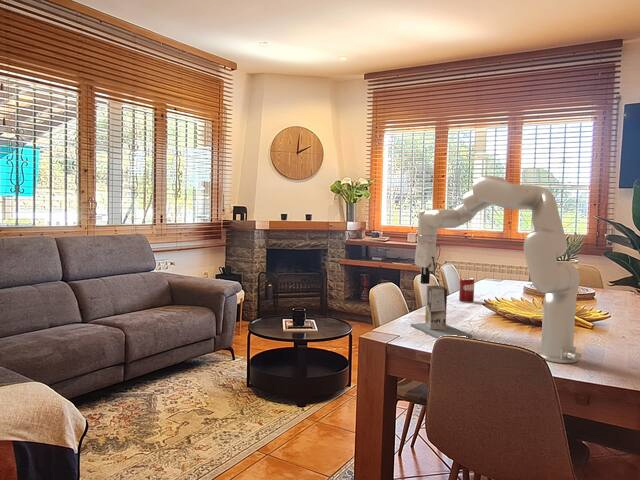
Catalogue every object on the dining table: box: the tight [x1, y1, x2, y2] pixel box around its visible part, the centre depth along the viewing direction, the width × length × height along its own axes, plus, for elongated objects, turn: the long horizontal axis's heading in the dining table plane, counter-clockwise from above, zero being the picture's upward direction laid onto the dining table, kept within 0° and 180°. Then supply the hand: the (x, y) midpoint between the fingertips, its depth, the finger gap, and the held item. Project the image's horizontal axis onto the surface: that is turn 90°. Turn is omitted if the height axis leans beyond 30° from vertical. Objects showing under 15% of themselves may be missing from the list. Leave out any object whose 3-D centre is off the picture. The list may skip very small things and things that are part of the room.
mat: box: [410, 322, 473, 339], centre depth 196 cm, size 22×14×1 cm, turn 18°
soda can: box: [458, 277, 475, 304], centre depth 258 cm, size 7×7×12 cm
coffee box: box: [424, 285, 448, 330], centre depth 199 cm, size 9×6×16 cm
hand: (424, 283), depth 206 cm, fingers closed
